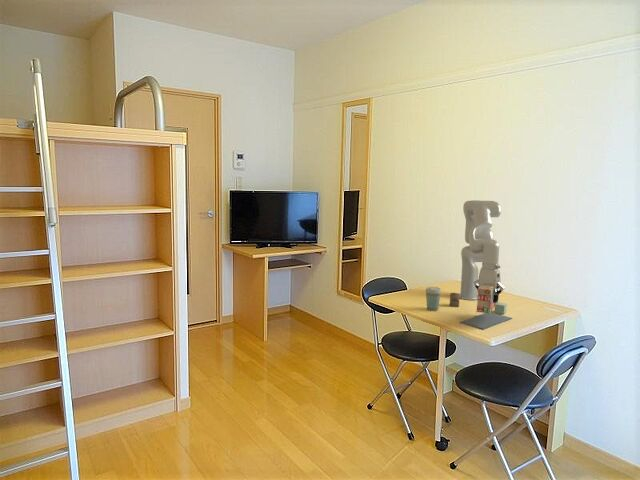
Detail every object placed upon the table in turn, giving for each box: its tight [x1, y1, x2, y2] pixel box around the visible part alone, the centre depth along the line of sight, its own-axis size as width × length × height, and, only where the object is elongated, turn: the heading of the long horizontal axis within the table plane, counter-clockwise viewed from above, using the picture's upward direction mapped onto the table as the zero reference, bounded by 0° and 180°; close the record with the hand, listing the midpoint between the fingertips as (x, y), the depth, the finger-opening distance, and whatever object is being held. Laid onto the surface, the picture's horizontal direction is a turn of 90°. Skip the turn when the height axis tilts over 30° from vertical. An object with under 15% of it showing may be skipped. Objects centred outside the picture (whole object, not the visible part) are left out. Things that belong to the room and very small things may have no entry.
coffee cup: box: [425, 286, 442, 312], centre depth 248 cm, size 8×9×12 cm
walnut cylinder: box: [449, 292, 460, 308], centre depth 256 cm, size 5×5×7 cm
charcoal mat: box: [459, 311, 513, 331], centre depth 231 cm, size 27×13×1 cm, turn 129°
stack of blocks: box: [476, 284, 499, 314], centre depth 229 cm, size 21×6×12 cm, turn 149°
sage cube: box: [493, 301, 508, 316], centre depth 245 cm, size 5×5×5 cm
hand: (487, 300), depth 229 cm, fingers closed on stack of blocks, 7 cm apart
